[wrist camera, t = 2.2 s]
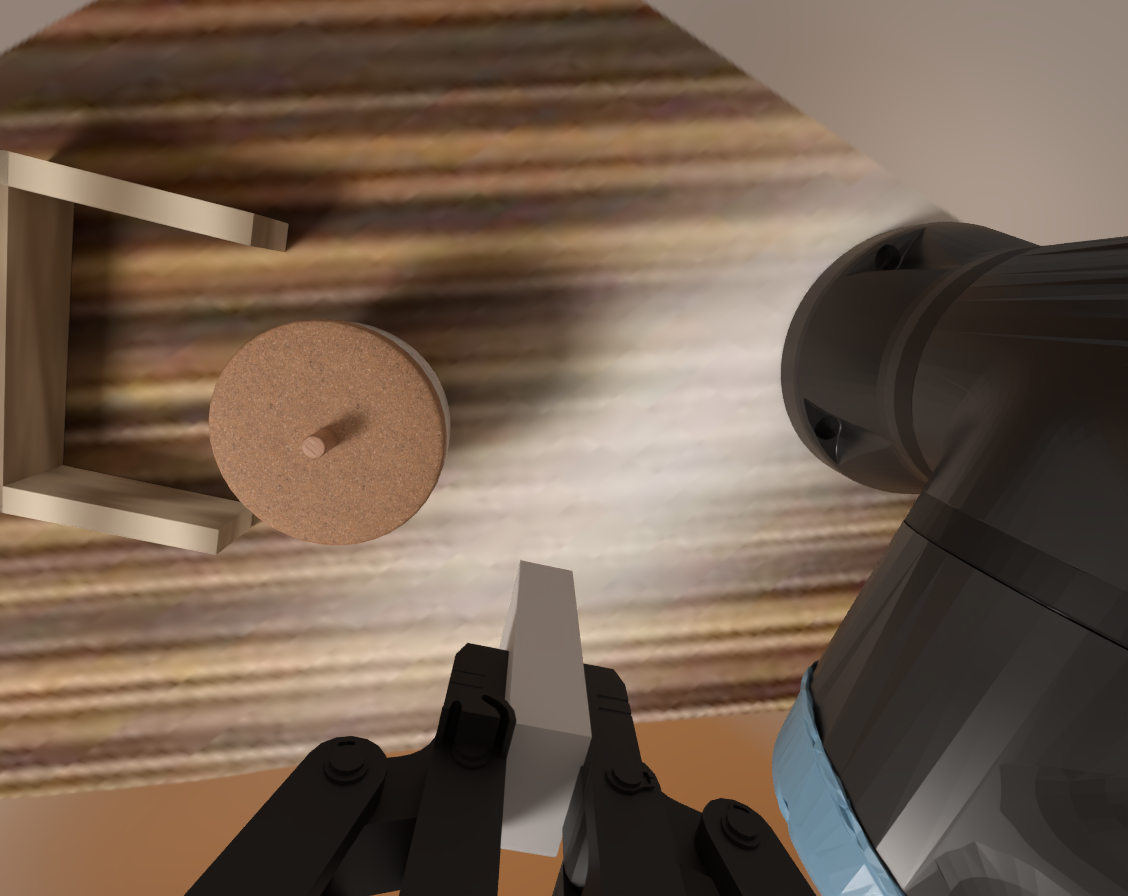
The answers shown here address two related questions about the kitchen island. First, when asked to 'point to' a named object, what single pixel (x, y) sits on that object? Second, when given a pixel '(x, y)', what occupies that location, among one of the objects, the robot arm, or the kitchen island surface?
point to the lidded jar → (330, 430)
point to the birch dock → (40, 351)
